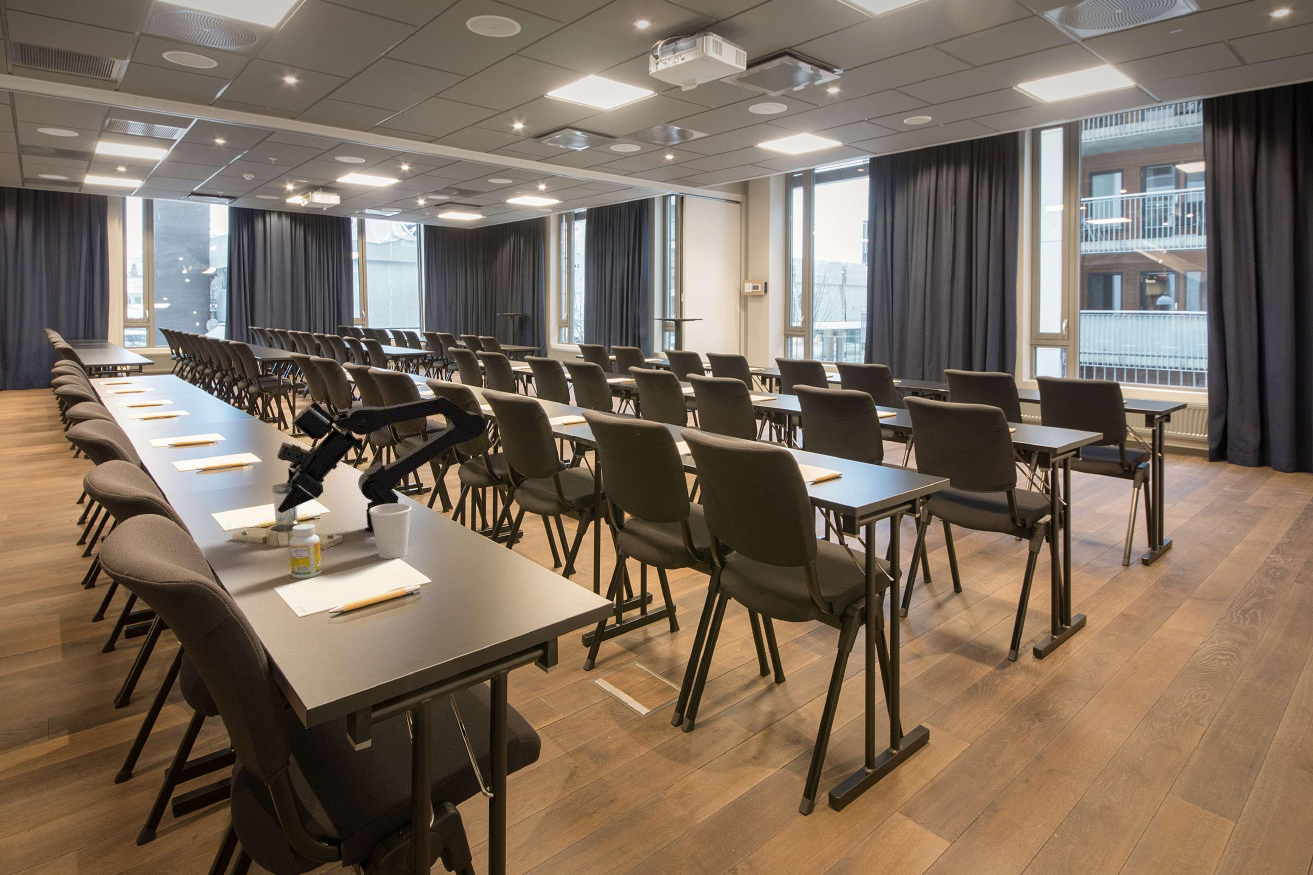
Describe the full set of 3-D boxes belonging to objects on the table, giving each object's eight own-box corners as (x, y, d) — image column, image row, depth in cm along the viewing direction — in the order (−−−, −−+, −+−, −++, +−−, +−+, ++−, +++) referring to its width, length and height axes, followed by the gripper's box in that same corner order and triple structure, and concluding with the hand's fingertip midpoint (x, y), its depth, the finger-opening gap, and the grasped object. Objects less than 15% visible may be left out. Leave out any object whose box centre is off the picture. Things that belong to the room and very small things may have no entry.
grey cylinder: (304, 539, 172) (300, 484, 170) (284, 545, 168) (279, 489, 166) (292, 536, 174) (287, 482, 172) (271, 541, 170) (267, 486, 168)
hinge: (346, 539, 172) (345, 526, 171) (321, 550, 164) (320, 537, 163) (256, 531, 178) (255, 518, 177) (229, 541, 170) (227, 528, 170)
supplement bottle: (299, 580, 146) (295, 532, 145) (286, 574, 150) (282, 526, 148) (327, 573, 150) (323, 525, 149) (313, 567, 154) (310, 520, 152)
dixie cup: (402, 545, 168) (399, 501, 166) (420, 554, 162) (418, 508, 160) (364, 554, 162) (361, 508, 160) (382, 563, 156) (380, 515, 154)
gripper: (296, 423, 177) (246, 475, 174) (302, 436, 160) (246, 493, 157) (336, 454, 182) (288, 505, 179) (345, 469, 165) (292, 525, 162)
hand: (278, 506), depth 169 cm, fingers open, 9 cm apart
